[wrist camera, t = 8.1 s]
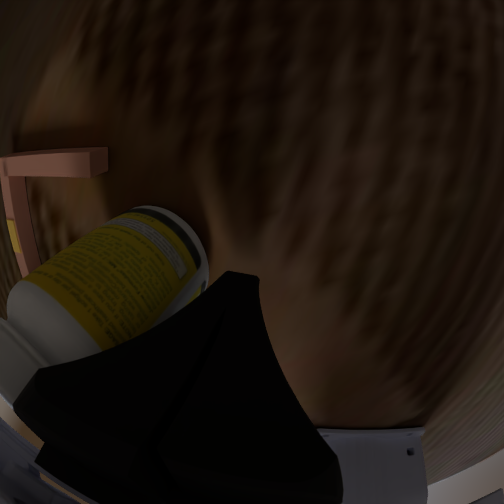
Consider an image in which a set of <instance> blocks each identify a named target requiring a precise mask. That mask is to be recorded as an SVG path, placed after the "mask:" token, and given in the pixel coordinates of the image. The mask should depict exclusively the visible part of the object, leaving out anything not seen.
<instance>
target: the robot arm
mask: <svg viewBox="0 0 504 504" xmlns="http://www.w3.org/2000/svg"><path fill="white" fill-rule="evenodd" d="M259 281H260V279H259V278H258V277H257V276H254V275H249V274H244V273H238V272H233V271H227V272H225V273H224V274H223V275H222V276H220V277H219V278H218V279H217V280H216V281H215V282H214V283H213V284H212V285H211V286H209V287H208V288H207V289H206V290H205V291H204V292H202V293H201V294H200V295H199V296H198V297H196V298H195V299H194V300H193V301H191V302H190V303H189V304H187V305H186V306H185V307H183V308H182V309H180V310H179V311H178V312H176V313H175V314H173V315H172V316H171V317H169V318H168V319H166V320H165V321H163V322H161V323H160V324H158V325H157V326H155V327H153V328H151V329H150V330H148V331H146V332H144V333H142V334H140V335H138V336H136V337H134V338H132V339H130V340H128V341H126V342H124V343H121V344H119V345H117V346H115V347H112V348H110V349H107V350H105V351H102V352H99V353H96V354H93V355H90V356H87V357H84V358H81V359H78V360H74V361H70V362H66V363H62V364H58V365H53V366H49V367H44V368H39V369H38V370H37V371H36V373H35V374H34V375H33V377H32V378H31V379H30V381H29V382H28V383H27V385H26V386H25V387H24V389H23V390H22V391H21V393H20V394H19V396H18V397H17V398H16V400H15V401H14V403H13V404H12V405H13V410H14V412H15V413H16V414H17V416H18V417H19V418H20V419H21V420H22V421H23V422H24V423H25V424H26V425H27V426H28V427H29V428H30V429H31V430H32V431H33V432H34V433H35V434H36V435H37V436H38V437H39V438H40V439H41V440H42V441H44V442H45V443H44V445H43V447H42V448H41V450H39V449H38V448H36V447H35V446H33V445H32V444H31V443H30V442H28V441H27V440H26V439H25V438H23V437H22V436H21V435H20V434H19V433H17V432H16V431H15V430H14V429H13V428H11V427H10V426H9V425H8V424H7V423H6V422H5V421H4V420H2V418H0V504H81V503H79V502H77V501H76V500H75V499H73V498H72V497H70V496H68V495H67V494H65V493H63V492H62V491H60V490H59V489H57V488H55V487H53V486H52V485H50V484H48V483H47V482H45V481H44V480H42V479H41V478H40V473H39V471H40V472H41V473H42V474H44V475H45V476H47V477H48V478H49V479H51V480H52V481H54V482H55V483H57V484H58V485H60V486H61V487H63V488H64V489H66V490H67V491H69V492H71V493H72V494H74V495H76V496H77V497H79V498H81V499H83V500H84V501H86V502H88V503H89V504H427V497H428V489H427V480H426V471H425V463H424V456H423V450H422V444H421V438H420V436H421V435H422V434H424V432H425V428H424V427H417V428H405V429H386V430H341V429H322V428H319V429H316V428H315V426H314V425H313V423H312V422H311V420H310V419H309V417H308V416H307V414H306V413H305V411H304V410H303V408H302V407H301V405H300V403H299V401H298V400H297V398H296V396H295V394H294V393H293V391H292V389H291V387H290V386H289V384H288V382H287V380H286V378H285V376H284V374H283V372H282V370H281V368H280V365H279V363H278V361H277V358H276V356H275V353H274V351H273V348H272V345H271V343H270V340H269V336H268V333H267V330H266V327H265V323H264V319H263V314H262V310H261V305H260V298H259ZM469 504H504V494H503V489H501V488H500V489H498V490H496V491H495V492H492V493H490V494H488V495H487V496H484V497H482V498H480V499H478V500H476V501H474V502H471V503H469Z"/></svg>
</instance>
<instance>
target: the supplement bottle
mask: <svg viewBox="0 0 504 504" xmlns="http://www.w3.org/2000/svg"><path fill="white" fill-rule="evenodd" d="M208 280H209V265H208V261H207V257H206V253H205V251H204V248H203V246H202V244H201V242H200V240H199V238H198V236H197V235H196V233H195V232H194V230H193V229H192V228H191V227H190V226H189V225H188V224H187V223H186V222H185V221H184V220H183V219H181V218H180V217H179V216H177V215H176V214H174V213H172V212H171V211H169V210H166V209H164V208H160V207H156V206H139V207H135V208H132V209H130V210H127V211H125V212H123V213H121V214H119V215H118V216H117V217H115V218H113V219H111V220H110V221H108V222H106V223H105V224H103V225H102V226H100V227H98V228H96V229H95V230H93V231H91V232H90V233H88V234H87V235H85V236H83V237H82V238H80V239H79V240H77V241H76V242H74V243H73V244H71V245H70V246H68V247H67V248H65V249H64V250H62V251H61V252H59V253H58V254H56V255H55V256H53V257H52V258H50V259H49V260H48V261H46V262H45V263H43V264H42V265H40V266H39V267H38V268H36V269H35V270H34V271H32V272H31V273H29V274H28V275H27V276H25V277H24V278H23V279H21V280H20V281H19V282H18V283H17V284H16V285H15V286H14V287H13V288H12V290H11V291H10V294H9V296H8V300H7V314H8V319H7V321H5V320H4V319H2V318H0V396H1V397H2V398H3V399H4V400H5V402H6V403H7V404H8V405H9V406H10V407H11V408H12V409H13V405H12V404H13V403H14V401H15V400H16V398H17V397H18V396H19V394H20V393H21V391H22V390H23V389H24V387H25V386H26V385H27V383H28V382H29V381H30V379H31V378H32V377H33V375H34V374H35V373H36V371H37V370H38V369H39V368H44V367H49V366H53V365H58V364H62V363H66V362H70V361H74V360H78V359H81V358H84V357H87V356H90V355H93V354H96V353H99V352H102V351H105V350H107V349H110V348H112V347H115V346H117V345H119V344H121V343H124V342H126V341H128V340H130V339H132V338H134V337H136V336H138V335H140V334H142V333H144V332H146V331H148V330H150V329H151V328H153V327H155V326H157V325H158V324H160V323H161V322H163V321H165V320H166V319H168V318H169V317H171V316H172V315H173V314H175V313H176V312H178V311H179V310H180V309H182V308H183V307H185V306H186V305H187V304H189V303H190V302H191V301H193V300H194V299H195V298H196V297H198V296H199V295H200V294H201V293H202V292H204V291H205V290H206V287H207V284H208Z"/></svg>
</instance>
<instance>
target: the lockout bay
mask: <svg viewBox="0 0 504 504" xmlns="http://www.w3.org/2000/svg"><path fill="white" fill-rule="evenodd" d="M107 171H108V147H87V148H64V149H49V150H37V151H27V152H18V153H13V154H10V155H7V156H4V157H1V158H0V177H1V185H2V193H3V199H4V205H5V211H6V216H7V224H8V228H9V233H10V237H11V241H12V245H13V249H14V251H15V254H16V257H17V261H18V264H19V268H20V271H21V274H22V277H23V278H24V277H25V276H27V275H28V274H29V273H31V272H32V271H34V270H35V269H36V268H38V267H39V266H40V265H41V262H40V258H39V254H38V250H37V246H36V242H35V237H34V233H33V228H32V223H31V218H30V212H29V206H28V199H27V192H26V184H25V176H54V177H80V178H92V177H94V176H97V175H99V174H102V173H104V172H107Z"/></svg>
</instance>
